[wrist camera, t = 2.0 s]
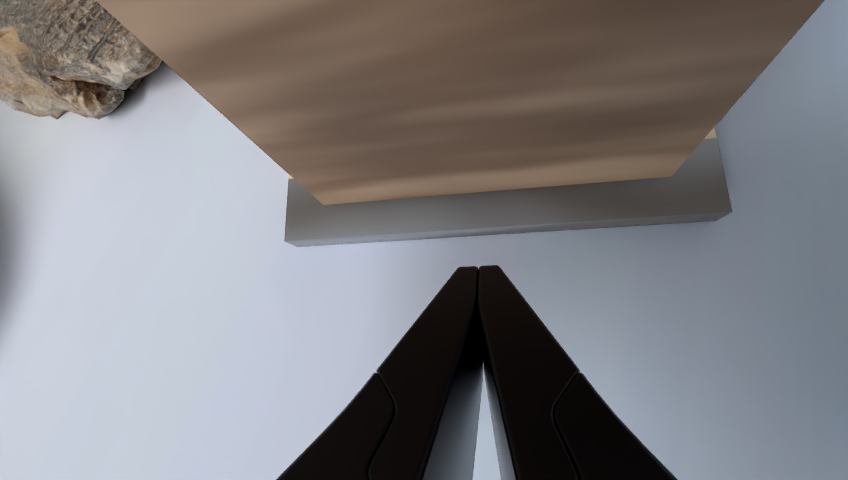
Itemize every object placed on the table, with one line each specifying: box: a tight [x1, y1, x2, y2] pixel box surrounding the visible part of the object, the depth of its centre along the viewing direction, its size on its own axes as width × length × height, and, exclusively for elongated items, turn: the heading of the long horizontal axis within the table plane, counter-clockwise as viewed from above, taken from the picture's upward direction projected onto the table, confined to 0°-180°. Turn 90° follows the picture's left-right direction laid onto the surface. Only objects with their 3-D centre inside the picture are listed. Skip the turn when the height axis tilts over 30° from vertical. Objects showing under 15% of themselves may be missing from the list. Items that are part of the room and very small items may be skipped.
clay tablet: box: [0, 0, 162, 119], centre depth 24 cm, size 14×5×20 cm
